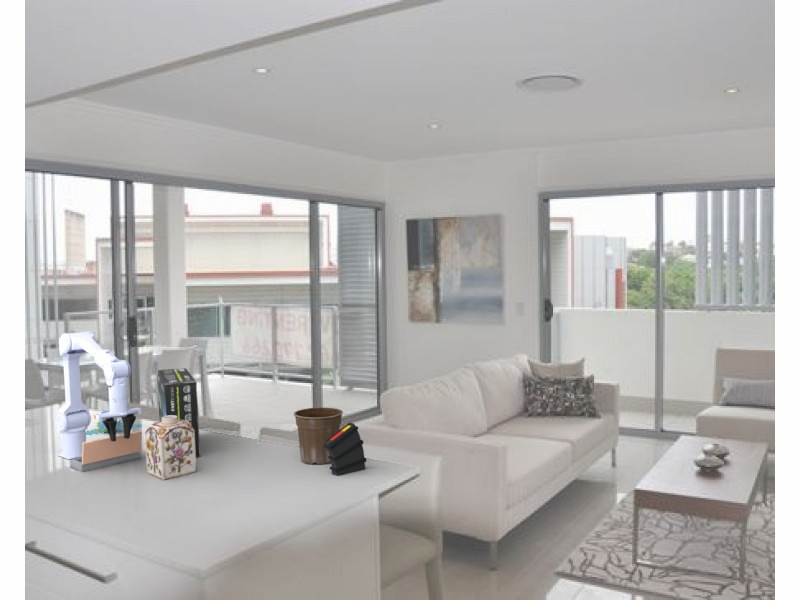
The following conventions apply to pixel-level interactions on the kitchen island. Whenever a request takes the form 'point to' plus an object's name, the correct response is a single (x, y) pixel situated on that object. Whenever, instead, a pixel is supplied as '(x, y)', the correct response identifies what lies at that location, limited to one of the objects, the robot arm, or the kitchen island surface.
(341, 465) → the magazine
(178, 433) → the decorative jar
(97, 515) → the kitchen island surface
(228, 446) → the kitchen island surface
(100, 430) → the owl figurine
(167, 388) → the router box
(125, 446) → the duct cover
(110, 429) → the robot arm
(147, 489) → the kitchen island surface
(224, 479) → the kitchen island surface
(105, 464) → the cable duct
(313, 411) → the plant pot
